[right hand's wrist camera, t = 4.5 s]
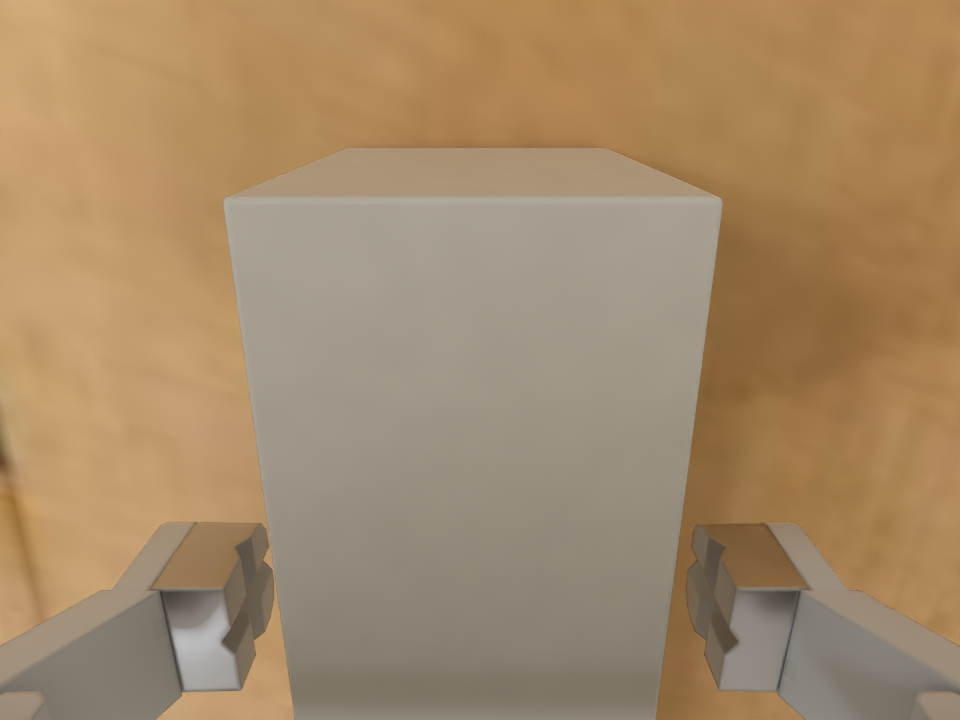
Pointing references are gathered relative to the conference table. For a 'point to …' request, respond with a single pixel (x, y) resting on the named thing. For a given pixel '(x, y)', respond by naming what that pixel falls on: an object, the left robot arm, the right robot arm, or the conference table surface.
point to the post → (474, 423)
